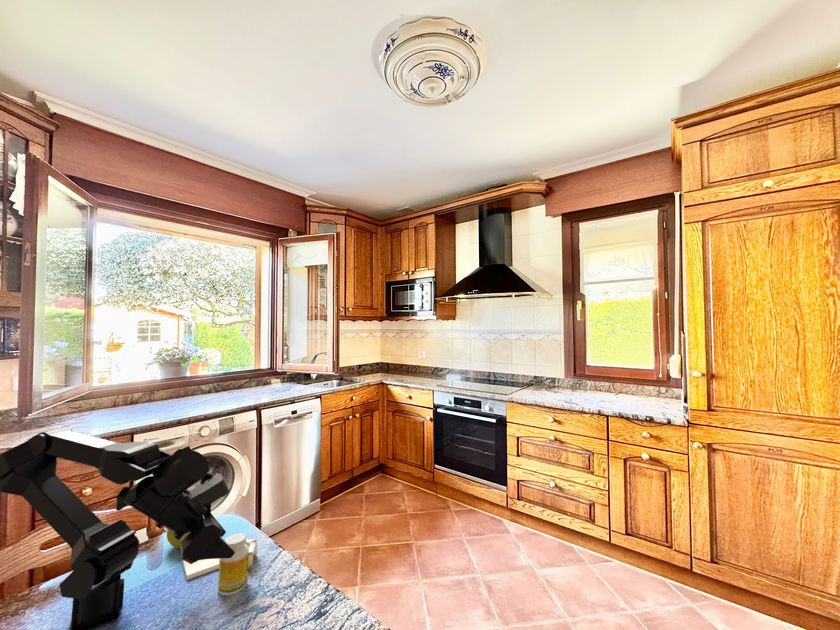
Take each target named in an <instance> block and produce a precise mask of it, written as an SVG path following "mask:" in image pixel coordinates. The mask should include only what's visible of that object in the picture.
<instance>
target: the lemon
mask: <svg viewBox="0 0 840 630" xmlns="http://www.w3.org/2000/svg"><path fill="white" fill-rule="evenodd" d="M166 530H167V532H166V539H167V542H168V543H169V544H170V545H171V546H172V547H173V548H174V549H180V550H181V542H182V541H183V540H184V539H185V538H186V537H187V535H188V534H189V533H190V532H189V533H187V534H186V533H185V534H184V535H183V536H182V537H181V538H180V539H179V540H178V539H176V538H175V537H174V533H173V532H172V531H170V530H169V529H166Z"/></svg>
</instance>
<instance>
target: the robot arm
mask: <svg viewBox="0 0 840 630" xmlns="http://www.w3.org/2000/svg"><path fill="white" fill-rule="evenodd" d="M58 459H63V460H67V461H71V462H74V463H77V464H80V465H85V466H88V467H92V468H95V469H97V470H98V472H99V475H100V477H101V478H103V479H104V480H107V481H109V482H111V483H113V484H116V485H125V484H128V483H130V482H133V481H134V482H137V481H138V482H137V483H135V484H134V485H131V486H123V487H122V489H120V491H119V492H118V494H117V495H116V497H115V498H116V505H115V510H116V511H121V510H123V509H124V508H126V507H127V506H130V507H131V508H133V509H135V510H136V511H138V512H140V513H141V514H142V515H144V516H146V517H148V518H149V519H151V520H152V521H154V523H155V527H157V528H158V529H162V528H163V527H164V528H166V530H168V529H169V530H170V531H172V532H173V533H174V537H175V538H176V539H178V540H179V539H180V538H181V537H182V536H183V535H184V534H185V533H186V534H187V533H189V532H190V533H189V534H188V535H187V537H186V538H185V539H184V540H183V541H182V542H181V549H180V554H181V555H180V556H181V558H182V559H181V560H182V561H183V560H184V561H186V562H188V563H189V564H192V563H194V562H197V561H198V560H204V559H219V558H231V557H232V556H233V555H234V554H235V551H234V550H233V549H232V548H231V547H230V546H229V545H228V544H227V543H226V542H225V539H224V538H223V537H224V535H226V531H227V530H226V529H225V528H224V527H223V526H222V525H221V523H219V521H218V520H217V519H216V517H215V516H214V515H213V513H212V504H213V503H215V502H216V501H218V500H219V499H221V498H224V497H225V496H226V495H228V494H229V493H230V489H229V487H228V485H227V483H226V481H225V479H224V477H223V476H222V474H221V473H219V472H215V474H214V473H212V472H210V471H209V470H210V464H209V461H208V459H207V457H206V456H204V455H203V454H202V453H200V452H199V451H196V450H192V449H191V447H190V445H185V446H183V447H180V448H178V449H177V450H176V451H174V452H173V454H172V453H171V452H168V451H166V450H163V449H162V448H160V446H158V444H157V443H155V442H151V441H149V442H148V441H133V442H132V441H131V442H128V441H127V442H116V441H112V440H108V439H103V438H100V437H96V436H93V435H88V434H85V433H81V432H78V431H74V430H73V429H72V428H68V427H67V428H66V427H61V428H56V429H51V430H46V431H42V432H39V433H37V434H35V435H33V436H32V437H30V438H29V439H28V440H27V441H25V442H22V443H20V444H18V445H16V446H14V447H12V448H10V449H8V450H5V451H3V452H2V453H0V493H3V494H8V495H13V496H18V497H23V498H24V500H25V501H26V502H27V503H28V504H29V505H30V506H31V507H32V508H33V510H35V511H36V512H37V514H39V515H40V517H42V518H43V520H44V521H46V523H48V525H49V526H50V527H51V528H52V529H53V530H54V531H55V533H56V534H58V535H59V536H60V538H61V539H62V540H63V541H64V542H65V543H66V544H67V545H68V546H69V547H70V548H71V557H70V568H71V569H72V571H71V572H70V574H69V575H67V576H66V578H65V579H64V580H63V581H62V582H60V583H59V589H60V595H61V597H62V598H67V599H72V605H71V606H72V608H71V616H70V617H71V619H70V625H69V630H94V629H96V628H98V627H101V626H103V625H104V626H105V625H106V624H108V623H111V622H114V621H116V620H118V619H119V618H120V610H122V609H123V607H124V596H125V578H121V577H122V574H123V573H125V572H126V571H128V570H130V569H131V568H132V566H133V564H134V561H135V560H136V558H137V556H138V554H139V548H140V540H139V538H138V537H137V535H135V534H136V533H137V531H135V530H133V528H130V526H129V525H128V524H127V522H126V521H124V520H122V519H118V520H115V521H114V522H112V523H106V522H103V521H102V520H101V519H100V518H99V517H98V516H97V514H96V513H94V512H93V511H92V510H91V509H90V508H89V507H88V506H87V504H85V502H83V500H81V499H80V498H79V496H77V494H76V493H74V491H73V490H71V488H69V486H67V484H66V483H65V482H63V480H62V479H61V478H60V477H58V475H57V466H58ZM139 480H140V481H139ZM194 485H196V487H194V488H193V489H191V490H189V489H190V488H191V487H192V486H194Z"/></svg>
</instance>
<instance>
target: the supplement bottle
mask: <svg viewBox="0 0 840 630" xmlns="http://www.w3.org/2000/svg"><path fill="white" fill-rule="evenodd" d="M246 539H247V536H246V534H245V533H241V532H240V533H235V534H232V535H230V536H227V537H226V538H225V539H224V541H225V542H226V543H227V544H228V545H229V546H230V547H231V548H232V549H233V550H234V551H235V554H234V555H233V556H232V557H231V558H220V559H219V569H218V579H217V580H218V582H217V591H218V594H220V595H222V596H226V597H227V596H234V595H236V594H238V593H239V592H241V591H243V590H244V589H245V587H246V586H247V585H248V576H249V575H248V574H249V573H248V572H249V571H248V558H249V548H248V546H247V545H246V544H245V543H246Z"/></svg>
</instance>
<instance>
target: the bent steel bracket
mask: <svg viewBox="0 0 840 630" xmlns="http://www.w3.org/2000/svg"><path fill="white" fill-rule="evenodd" d="M245 544H246V545H247V546H248V548H249V558H248V572H251V571H252V570H253V562H254V561H253V560H255V559H256V558H257V557H258V540H257V539H252V538H246V543H245Z"/></svg>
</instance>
